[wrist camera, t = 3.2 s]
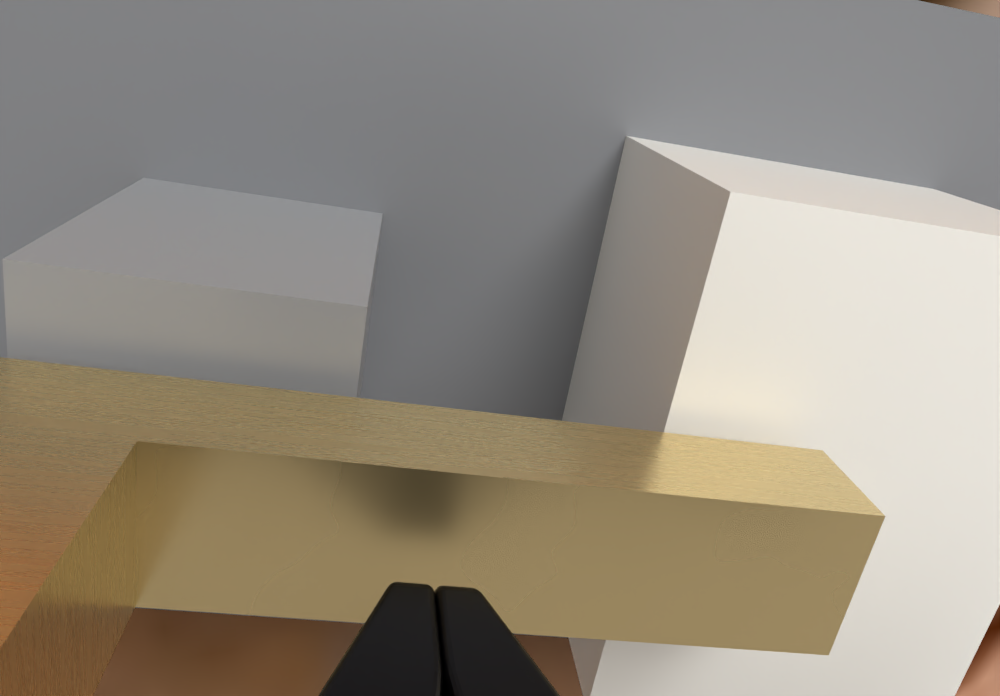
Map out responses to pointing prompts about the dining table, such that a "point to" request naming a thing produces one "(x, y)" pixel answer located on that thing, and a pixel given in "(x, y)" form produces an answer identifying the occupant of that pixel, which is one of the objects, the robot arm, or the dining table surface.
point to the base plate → (418, 170)
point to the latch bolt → (396, 519)
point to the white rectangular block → (811, 393)
